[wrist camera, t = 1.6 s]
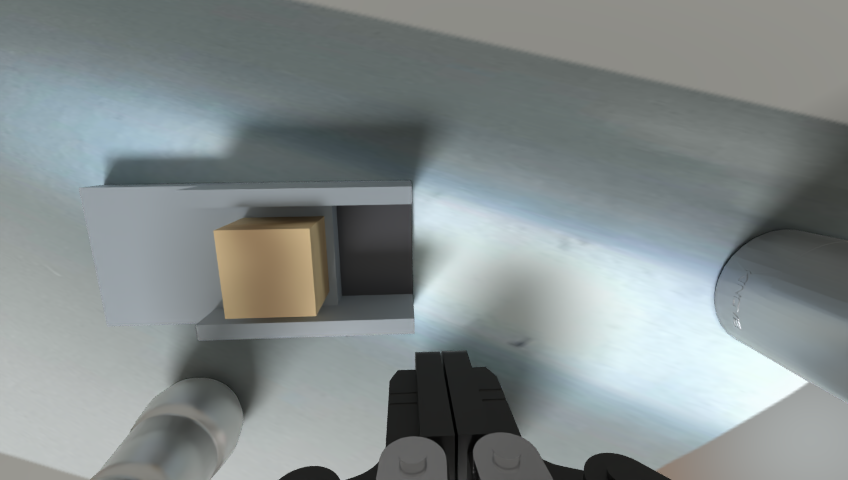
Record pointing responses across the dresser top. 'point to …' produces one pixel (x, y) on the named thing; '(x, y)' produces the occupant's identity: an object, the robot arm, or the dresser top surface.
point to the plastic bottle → (180, 435)
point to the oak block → (272, 266)
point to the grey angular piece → (198, 268)
